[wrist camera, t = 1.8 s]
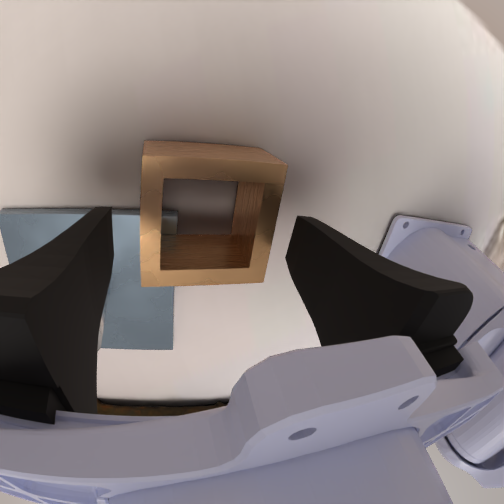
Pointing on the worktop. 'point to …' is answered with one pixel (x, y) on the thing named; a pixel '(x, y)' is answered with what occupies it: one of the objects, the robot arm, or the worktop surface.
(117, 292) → the piston plate
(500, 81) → the worktop surface
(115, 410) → the dark brown long piece
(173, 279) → the square wooden frame
